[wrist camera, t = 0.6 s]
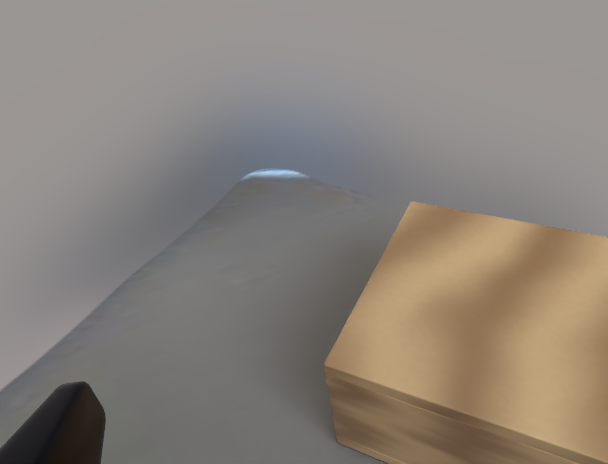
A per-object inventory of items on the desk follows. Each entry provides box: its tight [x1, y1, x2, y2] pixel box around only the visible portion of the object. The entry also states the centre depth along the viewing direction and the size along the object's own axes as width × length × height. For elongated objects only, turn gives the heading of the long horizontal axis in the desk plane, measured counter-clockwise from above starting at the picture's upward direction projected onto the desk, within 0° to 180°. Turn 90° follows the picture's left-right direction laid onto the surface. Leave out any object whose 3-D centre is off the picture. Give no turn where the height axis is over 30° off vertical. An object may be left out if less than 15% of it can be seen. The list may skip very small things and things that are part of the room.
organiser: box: [324, 202, 608, 464], centre depth 24 cm, size 12×11×6 cm
